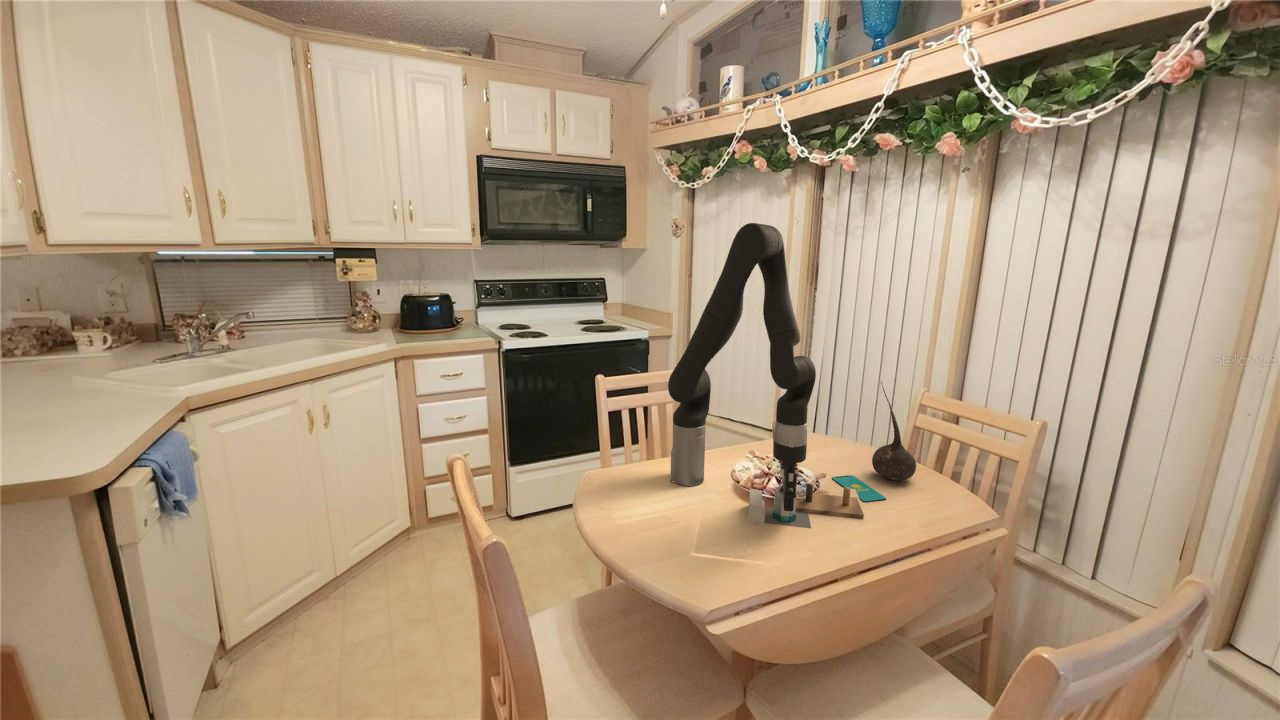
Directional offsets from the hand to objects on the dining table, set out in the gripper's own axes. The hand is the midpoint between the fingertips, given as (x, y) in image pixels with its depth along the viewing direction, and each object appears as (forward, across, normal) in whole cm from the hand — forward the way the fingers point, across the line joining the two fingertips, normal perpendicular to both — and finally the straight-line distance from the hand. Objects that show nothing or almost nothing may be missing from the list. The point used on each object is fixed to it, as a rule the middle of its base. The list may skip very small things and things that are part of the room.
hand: (787, 502), depth 124 cm
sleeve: (+4, 0, 0) cm, 4 cm away
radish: (+5, -30, +31) cm, 43 cm away
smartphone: (+5, -21, +21) cm, 30 cm away
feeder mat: (+4, 0, -2) cm, 5 cm away
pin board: (+5, -8, +10) cm, 14 cm away
